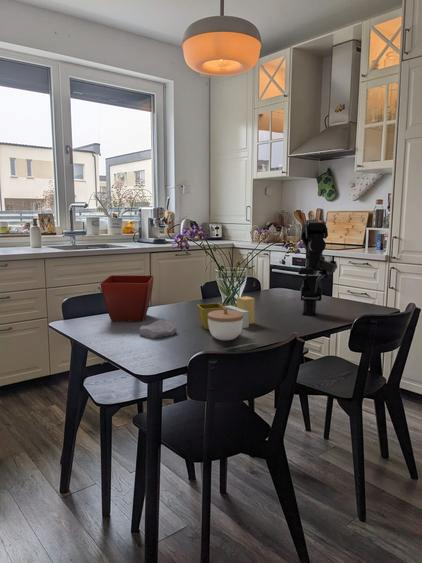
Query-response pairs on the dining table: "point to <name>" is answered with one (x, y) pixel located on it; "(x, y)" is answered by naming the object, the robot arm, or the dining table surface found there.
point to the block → (247, 306)
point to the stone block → (158, 329)
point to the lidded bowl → (225, 324)
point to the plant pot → (127, 296)
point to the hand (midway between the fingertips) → (314, 292)
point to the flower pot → (205, 309)
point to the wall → (245, 315)
